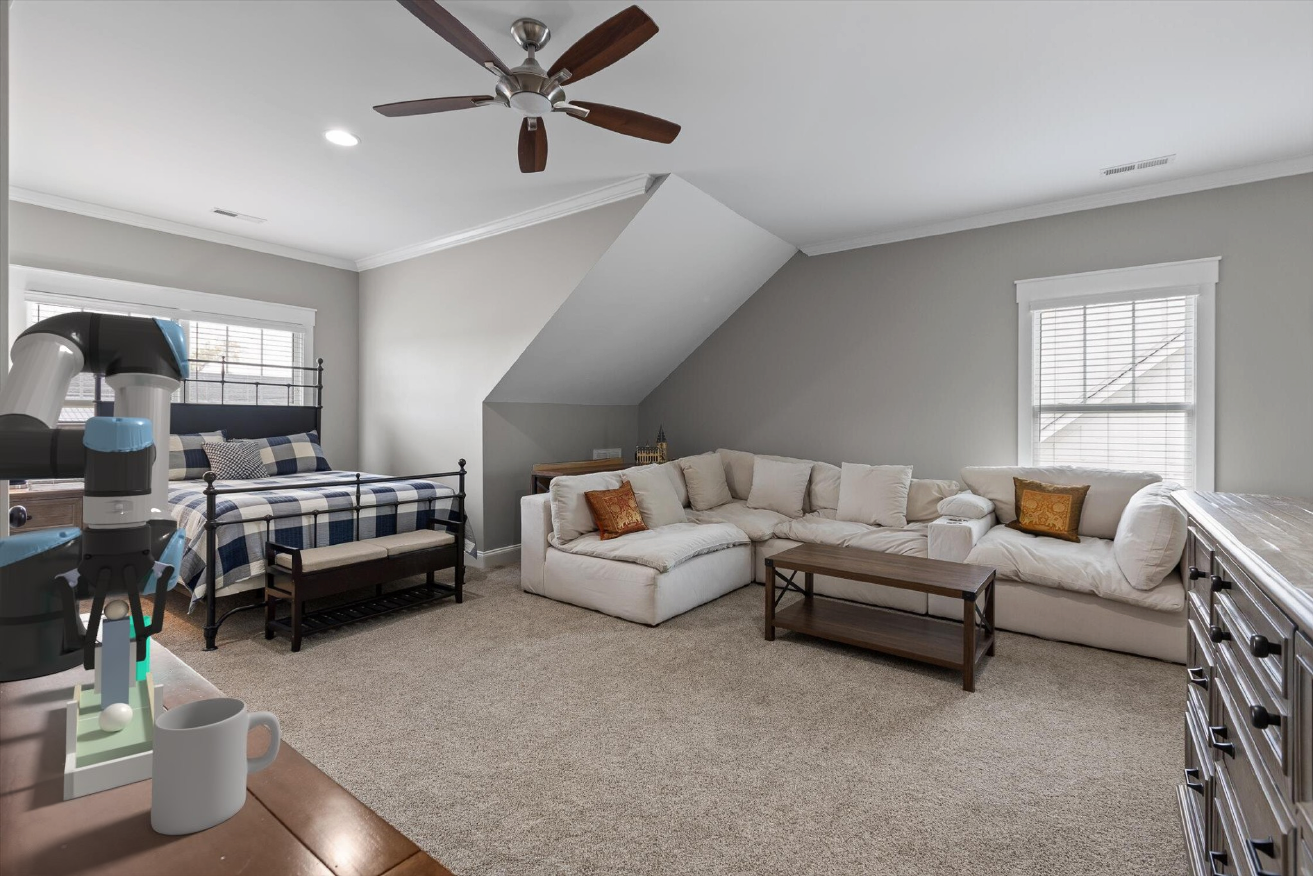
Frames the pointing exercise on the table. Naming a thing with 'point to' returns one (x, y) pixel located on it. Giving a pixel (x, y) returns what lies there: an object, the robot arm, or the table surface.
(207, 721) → the mug
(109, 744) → the pitch
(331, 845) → the table surface
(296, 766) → the table surface
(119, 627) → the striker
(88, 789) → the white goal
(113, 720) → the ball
